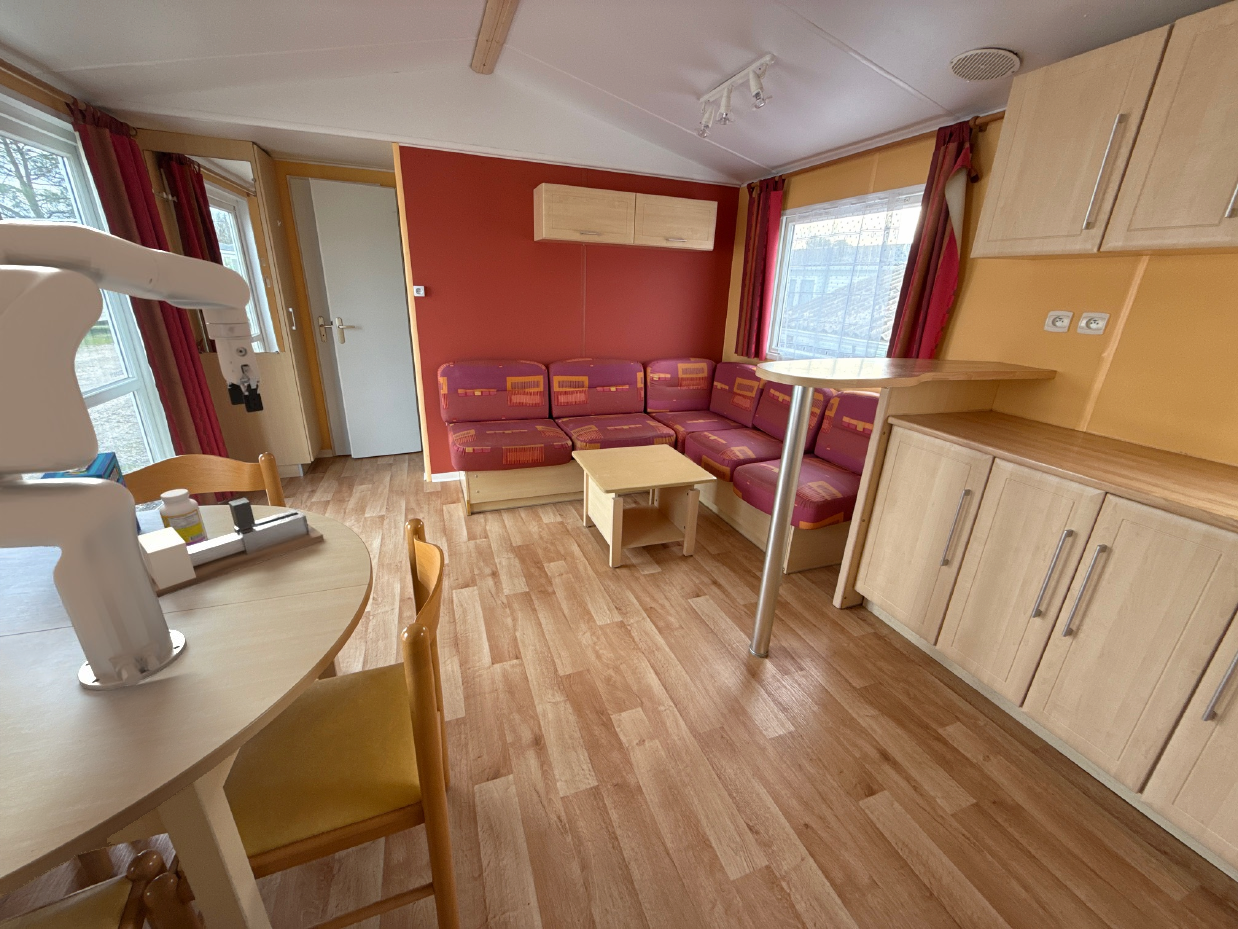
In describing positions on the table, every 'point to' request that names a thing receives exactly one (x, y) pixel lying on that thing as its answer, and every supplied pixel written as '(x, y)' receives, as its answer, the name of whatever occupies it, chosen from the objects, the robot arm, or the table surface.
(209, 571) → the base board
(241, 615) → the table surface
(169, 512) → the supplement bottle
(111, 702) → the table surface
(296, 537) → the outer sleeve
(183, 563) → the block
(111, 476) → the box
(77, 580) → the robot arm
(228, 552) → the sliding bolt latch
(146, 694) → the table surface
